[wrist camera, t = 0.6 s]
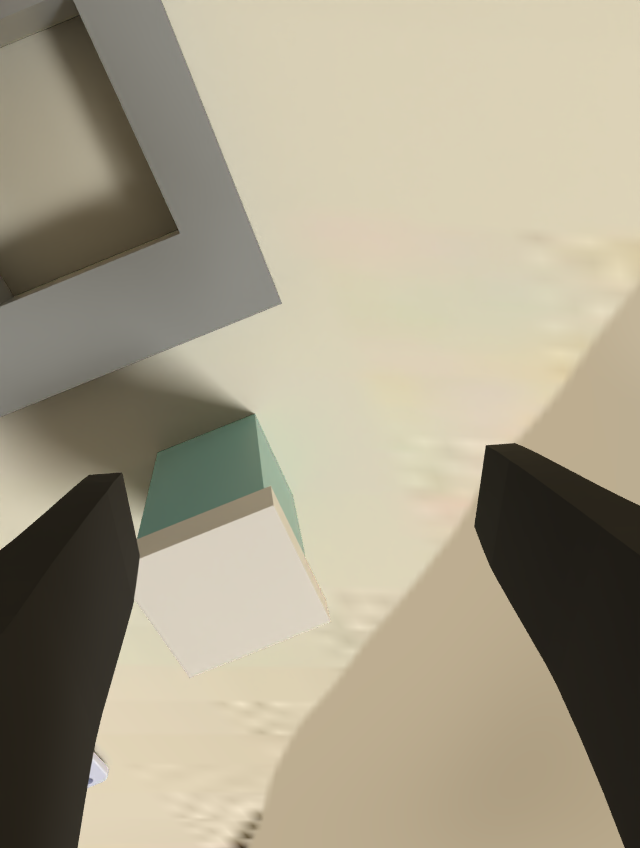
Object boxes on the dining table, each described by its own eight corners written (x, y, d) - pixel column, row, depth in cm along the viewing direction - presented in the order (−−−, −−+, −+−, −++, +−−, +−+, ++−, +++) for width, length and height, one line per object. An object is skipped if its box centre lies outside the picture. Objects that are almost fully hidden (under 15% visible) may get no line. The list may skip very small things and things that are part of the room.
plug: (199, 538, 23) (189, 678, 17) (146, 449, 21) (112, 569, 15) (301, 497, 23) (330, 622, 17) (259, 404, 21) (273, 505, 15)
